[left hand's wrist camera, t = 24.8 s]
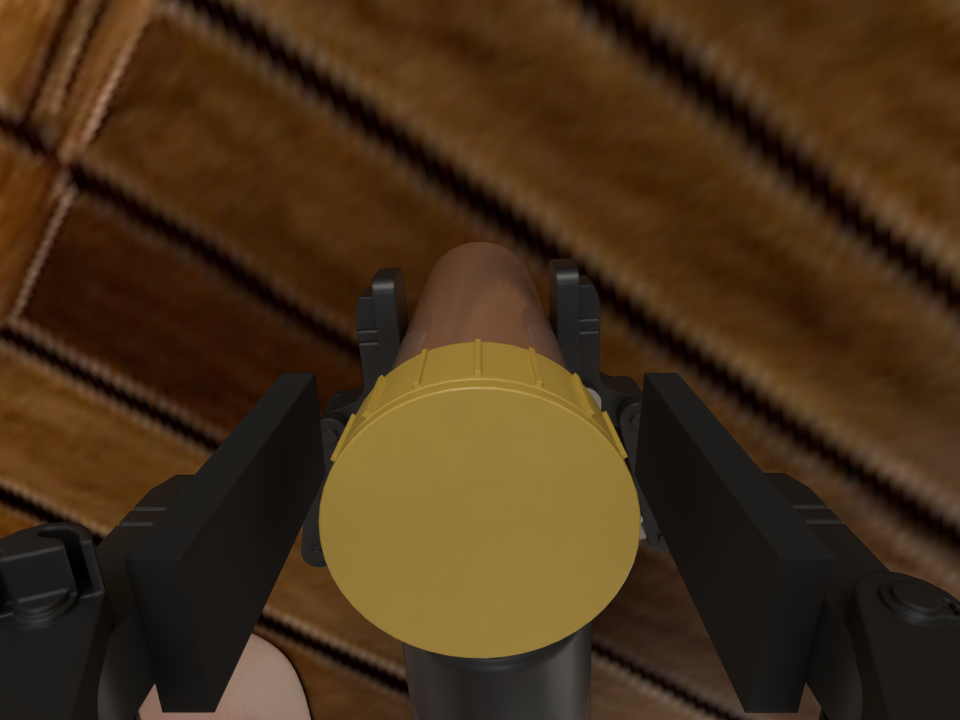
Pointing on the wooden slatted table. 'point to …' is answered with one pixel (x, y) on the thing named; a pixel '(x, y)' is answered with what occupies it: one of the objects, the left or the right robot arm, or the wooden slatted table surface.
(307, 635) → the wooden slatted table surface
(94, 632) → the left robot arm
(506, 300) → the jar
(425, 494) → the lid
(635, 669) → the wooden slatted table surface
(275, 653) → the anatomical model
